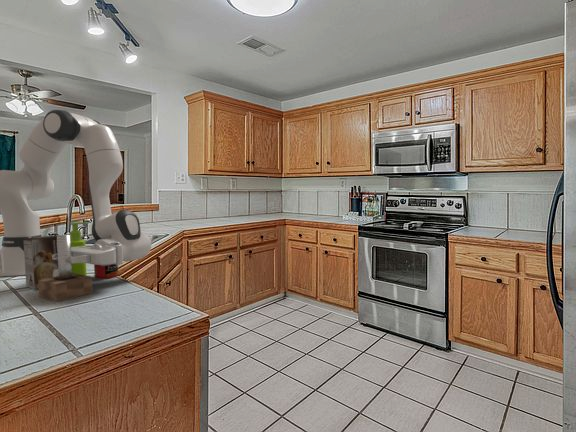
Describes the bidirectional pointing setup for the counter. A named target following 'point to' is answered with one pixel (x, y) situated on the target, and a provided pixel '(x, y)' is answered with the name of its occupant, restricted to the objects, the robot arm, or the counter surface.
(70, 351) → the counter surface
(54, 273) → the short steel dowel
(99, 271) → the canned food
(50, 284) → the walnut socket block
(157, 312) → the counter surface
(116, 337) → the counter surface
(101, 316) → the counter surface
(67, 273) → the long steel dowel
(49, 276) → the coffee box
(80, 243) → the soap dispenser
